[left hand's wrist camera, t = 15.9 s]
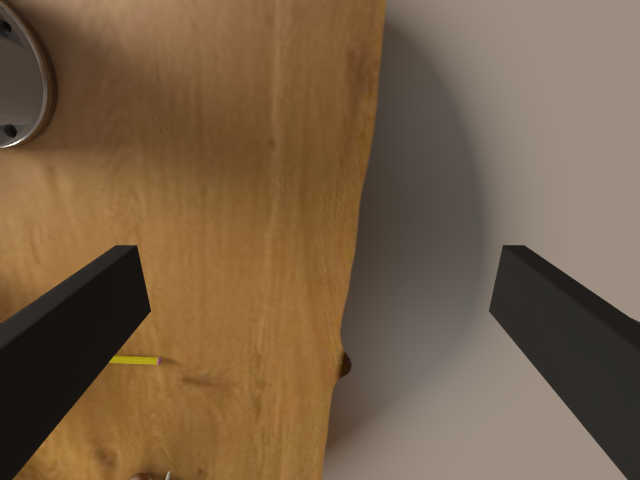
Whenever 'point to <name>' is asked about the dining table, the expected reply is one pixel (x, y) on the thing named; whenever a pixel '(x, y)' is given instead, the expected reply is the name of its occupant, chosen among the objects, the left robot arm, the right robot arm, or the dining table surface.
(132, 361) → the pencil
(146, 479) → the toy
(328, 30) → the dining table surface
